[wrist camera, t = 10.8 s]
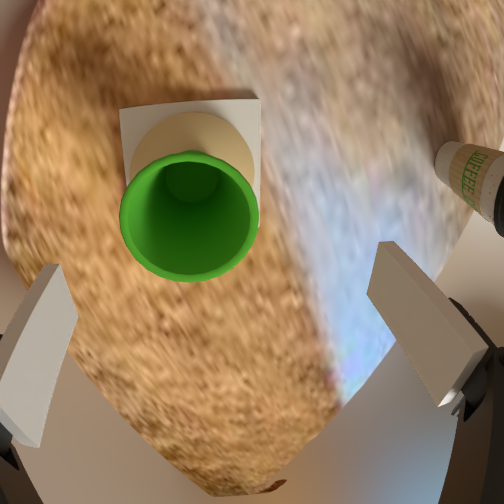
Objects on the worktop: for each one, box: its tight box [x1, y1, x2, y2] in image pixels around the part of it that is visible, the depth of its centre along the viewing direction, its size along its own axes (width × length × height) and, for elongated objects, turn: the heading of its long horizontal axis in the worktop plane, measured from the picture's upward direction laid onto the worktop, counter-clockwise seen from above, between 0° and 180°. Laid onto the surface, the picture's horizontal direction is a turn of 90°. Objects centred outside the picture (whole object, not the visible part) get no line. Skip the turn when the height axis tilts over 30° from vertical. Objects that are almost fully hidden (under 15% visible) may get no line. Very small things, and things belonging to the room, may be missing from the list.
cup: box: [119, 150, 259, 282], centre depth 24 cm, size 9×9×11 cm
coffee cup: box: [435, 141, 504, 237], centre depth 30 cm, size 10×10×15 cm
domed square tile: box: [119, 99, 261, 227], centre depth 31 cm, size 14×14×4 cm
